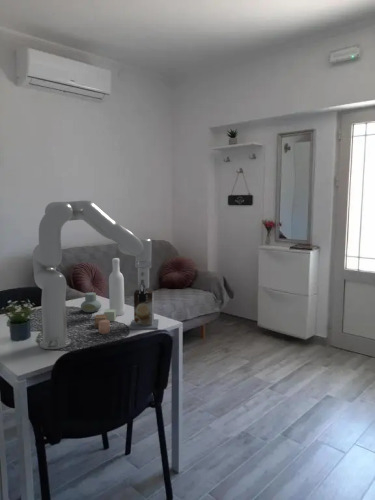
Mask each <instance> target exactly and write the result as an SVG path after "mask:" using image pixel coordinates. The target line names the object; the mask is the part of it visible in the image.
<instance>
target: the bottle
mask: <svg viewBox="0 0 375 500" xmlns="http://www.w3.org/2000/svg"><path fill="white" fill-rule="evenodd" d="M111 263H112V271H111V273H110V274H109V276H108V293H109V294H108V295H109V299H108V300H109V302H108V303H109V309H116V317H117V316H118V317H119V316H124V314H125V312H126V311H125V310H126V309H125V282H124V281H125V278H124V275H123V273H121V271H120V269H121V268H120V258H119V257H115V258H112V260H111Z"/></svg>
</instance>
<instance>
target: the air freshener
mask: <svg viewBox="0 0 375 500" xmlns="http://www.w3.org/2000/svg"><path fill="white" fill-rule="evenodd" d="M101 307H102V303H101V301H99V300H97V293H96V292H93V291H92V292H85V293H84V301H83V302H82V303H81V304H80V309H81V310H82V311H83V312H85V313H87V314H90V313H91V314H92V313H96V312H98V311H99V310H100V309H101Z"/></svg>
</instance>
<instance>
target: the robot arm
mask: <svg viewBox="0 0 375 500" xmlns="http://www.w3.org/2000/svg"><path fill="white" fill-rule="evenodd" d="M79 220H81V221H84V222H85V223H86V224H88V225H89V226H90V227H91V228H92V229H93V230H95V232H97V233H98V234H100V235H101V236H102V237H105V238H106V239H108V240H111V241H113V242H114V243H117V244H118V245H117V248H118V250H119V252H120V253H122V254H124V255H128V256H134V257H135V268H137V288H138V290H139V302H146V293H145V290H148V289H149V288H150V269H151V268H152V251H153V250H152V245H153V244H152V242H153V241H152V239H150V238H143V237H142V238H139V237H137V236H136V235H135V234H134V233H133V232H131V231H130V230H129V229H127V228H126V227H124V226H123V225H121V224H120V223H119V222H117V221H115V220H114V219H112V218H111V216H109V215H108V213H106V212H104V211H103V210H102V209H101V208H100V207H99V206H98V205H97V204H96V203H94V202H93V201H91V200H75V201H74V200H73V201H52V202H50V203H48V204H47V205H46V206H45V209H44V215H43V217H42V218H41V220H40V222H39V226H38V244H37V245H36V246H35V247H34V249H33V251H32V268H33V269H32V270H33V278H34V283H35V284H36V286H37V287H38V288H40V289H41V300H40V301H41V302H40V303H41V306H40V307H41V321H42V340H41V341H40V342H39V347H40V348H41V349H43V350H58V349H59V350H60V349H63V348H66V347H68V346H70V345H71V343H72V339H71V338H70V337H68V330H67V328H68V327H67V326H68V325H67V306H66V305H67V304H66V303H67V301H66V292H67V280H66V277H65V275H64V274H63V273H61V272H60V271H58V270H57V267H58V266H59V265H60V264H61V263H62V259H63V251H62V242H61V241H62V239H61V238H62V229H63V226H64V225H65V224H66V223H67V222H68V221H70V222H71V221H79Z"/></svg>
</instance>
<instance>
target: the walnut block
mask: <svg viewBox="0 0 375 500" xmlns="http://www.w3.org/2000/svg"><path fill="white" fill-rule="evenodd" d="M101 320H107V315H104V314H96V315H95V317H94V328H95V329H97V328H98V329H99V321H101Z"/></svg>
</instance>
